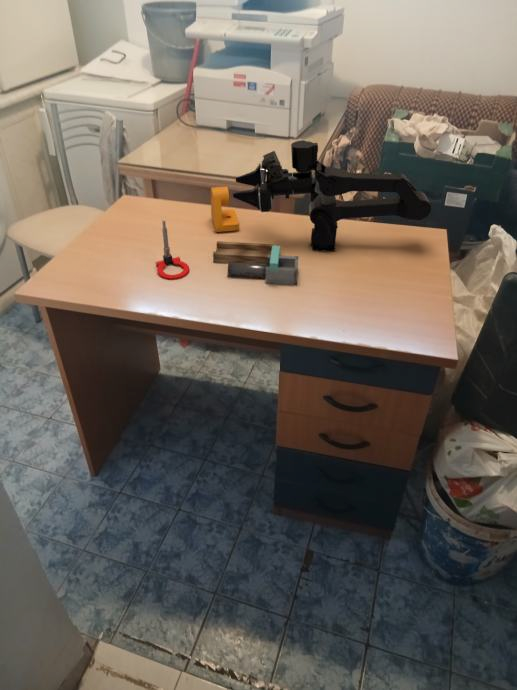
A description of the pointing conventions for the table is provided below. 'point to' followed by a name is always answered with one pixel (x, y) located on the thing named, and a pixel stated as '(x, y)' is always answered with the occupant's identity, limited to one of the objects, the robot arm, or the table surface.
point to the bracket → (222, 211)
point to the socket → (283, 271)
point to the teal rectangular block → (274, 258)
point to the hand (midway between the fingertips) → (234, 187)
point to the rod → (247, 269)
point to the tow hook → (170, 260)
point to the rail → (242, 252)
